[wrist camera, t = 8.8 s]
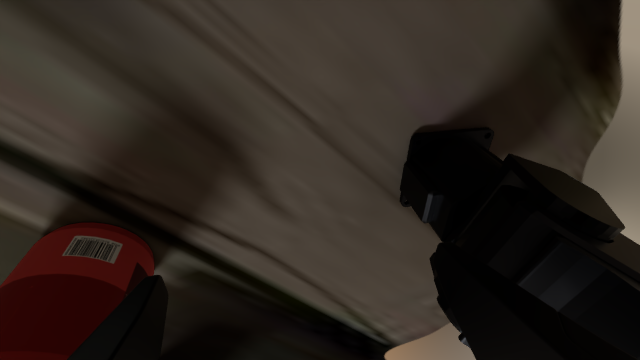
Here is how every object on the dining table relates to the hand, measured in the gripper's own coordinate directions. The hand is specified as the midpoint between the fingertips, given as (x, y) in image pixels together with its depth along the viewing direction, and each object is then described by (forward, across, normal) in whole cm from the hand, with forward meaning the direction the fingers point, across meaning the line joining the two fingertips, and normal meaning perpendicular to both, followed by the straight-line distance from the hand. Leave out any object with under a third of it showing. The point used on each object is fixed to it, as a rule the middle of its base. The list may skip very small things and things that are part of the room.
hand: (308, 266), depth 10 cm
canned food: (+12, +14, +10) cm, 22 cm away
